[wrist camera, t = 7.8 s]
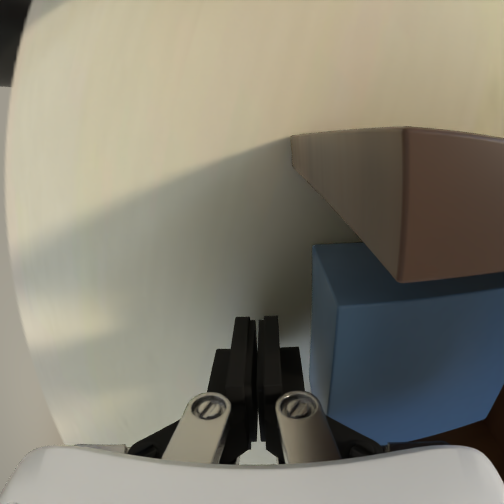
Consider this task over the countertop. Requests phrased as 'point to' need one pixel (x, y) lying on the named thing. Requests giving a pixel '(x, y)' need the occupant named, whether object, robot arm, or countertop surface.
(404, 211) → the brown wooden open box
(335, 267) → the blue block
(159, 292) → the countertop surface
